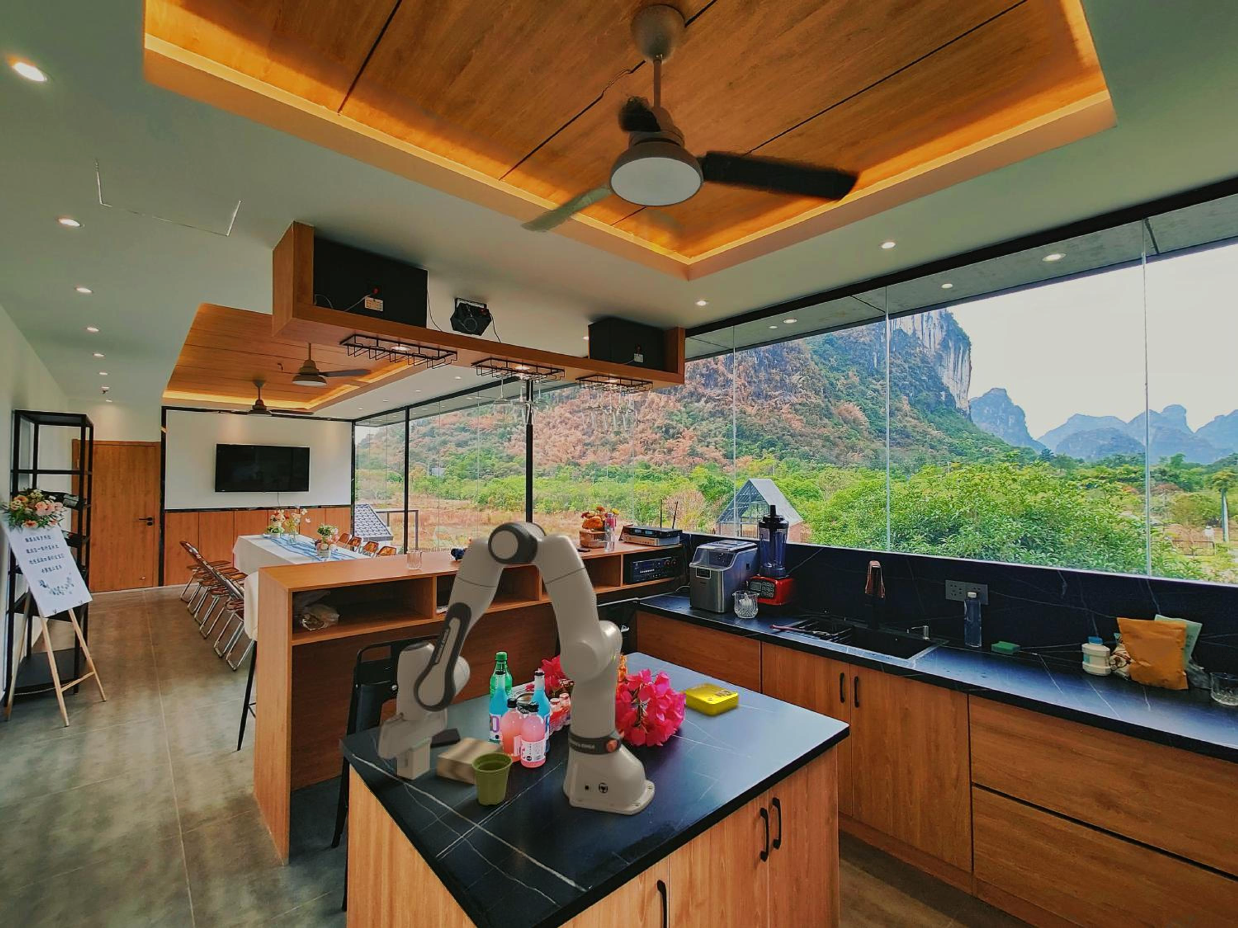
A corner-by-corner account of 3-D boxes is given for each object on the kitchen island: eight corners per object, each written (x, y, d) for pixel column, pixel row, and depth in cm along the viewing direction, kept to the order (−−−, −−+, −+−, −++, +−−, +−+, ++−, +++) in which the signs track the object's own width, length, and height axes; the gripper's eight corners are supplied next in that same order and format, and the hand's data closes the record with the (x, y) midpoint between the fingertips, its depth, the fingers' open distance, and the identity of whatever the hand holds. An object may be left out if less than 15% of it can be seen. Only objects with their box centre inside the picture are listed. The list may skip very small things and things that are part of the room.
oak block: (503, 763, 149) (503, 744, 149) (475, 785, 138) (475, 765, 138) (466, 755, 154) (466, 736, 154) (436, 775, 142) (437, 756, 143)
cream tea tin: (430, 769, 145) (431, 738, 145) (413, 780, 140) (413, 747, 140) (413, 764, 148) (414, 733, 148) (395, 774, 142) (396, 742, 143)
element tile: (707, 693, 200) (707, 680, 201) (741, 706, 189) (740, 692, 189) (678, 704, 191) (678, 689, 191) (712, 717, 179) (712, 702, 180)
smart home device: (385, 738, 160) (456, 727, 168) (385, 745, 160) (456, 732, 168) (385, 751, 152) (460, 738, 160) (385, 757, 152) (460, 744, 160)
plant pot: (490, 784, 138) (491, 748, 138) (519, 795, 133) (520, 758, 134) (462, 802, 130) (463, 764, 130) (492, 814, 125) (492, 775, 126)
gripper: (391, 724, 134) (390, 782, 133) (451, 695, 152) (450, 747, 152) (372, 719, 136) (371, 776, 136) (433, 692, 155) (432, 742, 154)
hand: (413, 761), depth 144 cm, fingers closed on cream tea tin, 6 cm apart
